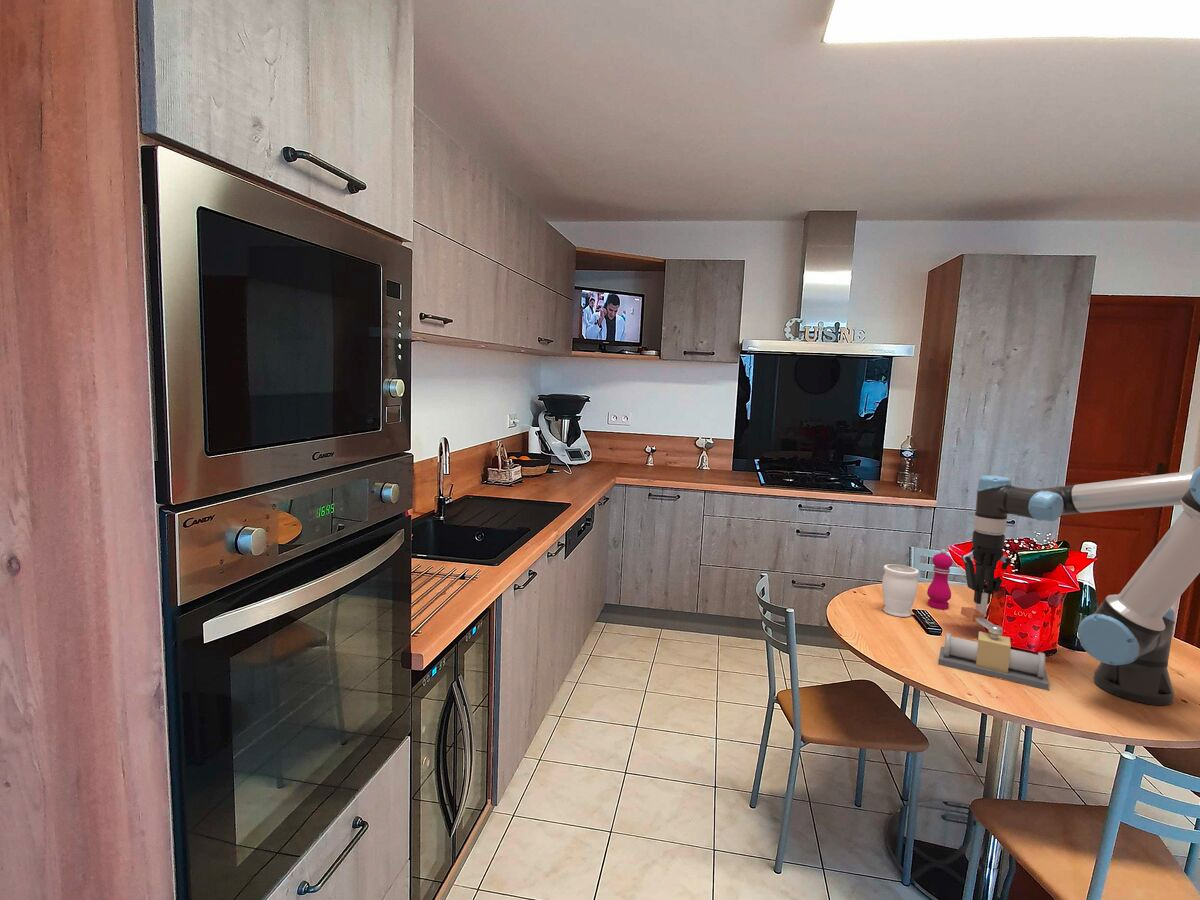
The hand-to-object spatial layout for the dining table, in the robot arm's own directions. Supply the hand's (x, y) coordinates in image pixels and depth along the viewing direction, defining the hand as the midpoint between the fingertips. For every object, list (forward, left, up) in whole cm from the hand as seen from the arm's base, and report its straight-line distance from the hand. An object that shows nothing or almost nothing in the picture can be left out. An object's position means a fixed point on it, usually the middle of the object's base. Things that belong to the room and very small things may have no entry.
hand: (980, 614), depth 174 cm
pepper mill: (+12, -37, -11) cm, 40 cm away
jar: (+23, -21, -11) cm, 33 cm away
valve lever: (0, +5, -1) cm, 5 cm away
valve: (-3, +11, -11) cm, 16 cm away
